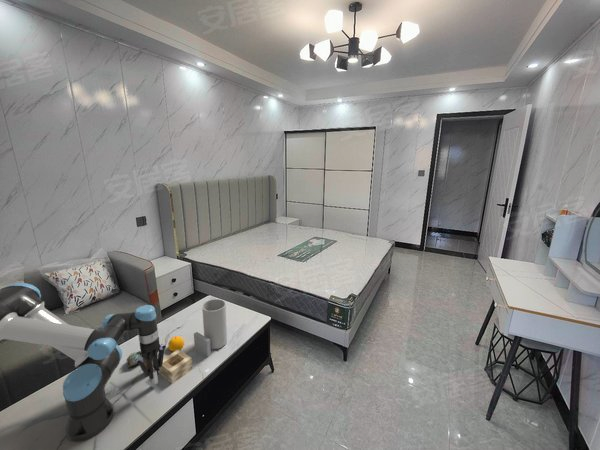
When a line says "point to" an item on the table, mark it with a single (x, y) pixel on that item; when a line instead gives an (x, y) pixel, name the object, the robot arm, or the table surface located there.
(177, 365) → the block
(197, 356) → the grey corner bracket
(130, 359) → the mineral specimen
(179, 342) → the orange
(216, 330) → the cylinder vase
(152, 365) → the dowel
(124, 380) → the table surface
